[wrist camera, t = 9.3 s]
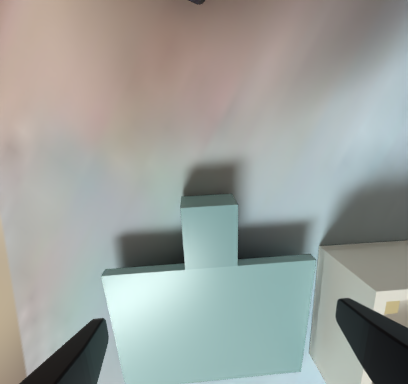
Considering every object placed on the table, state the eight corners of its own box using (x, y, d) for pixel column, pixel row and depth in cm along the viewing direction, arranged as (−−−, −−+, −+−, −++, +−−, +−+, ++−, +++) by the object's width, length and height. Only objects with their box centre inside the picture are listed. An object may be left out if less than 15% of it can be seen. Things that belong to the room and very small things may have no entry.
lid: (289, 345, 23) (300, 371, 20) (133, 360, 22) (126, 389, 19) (306, 189, 17) (324, 199, 15) (102, 201, 16) (87, 213, 14)
